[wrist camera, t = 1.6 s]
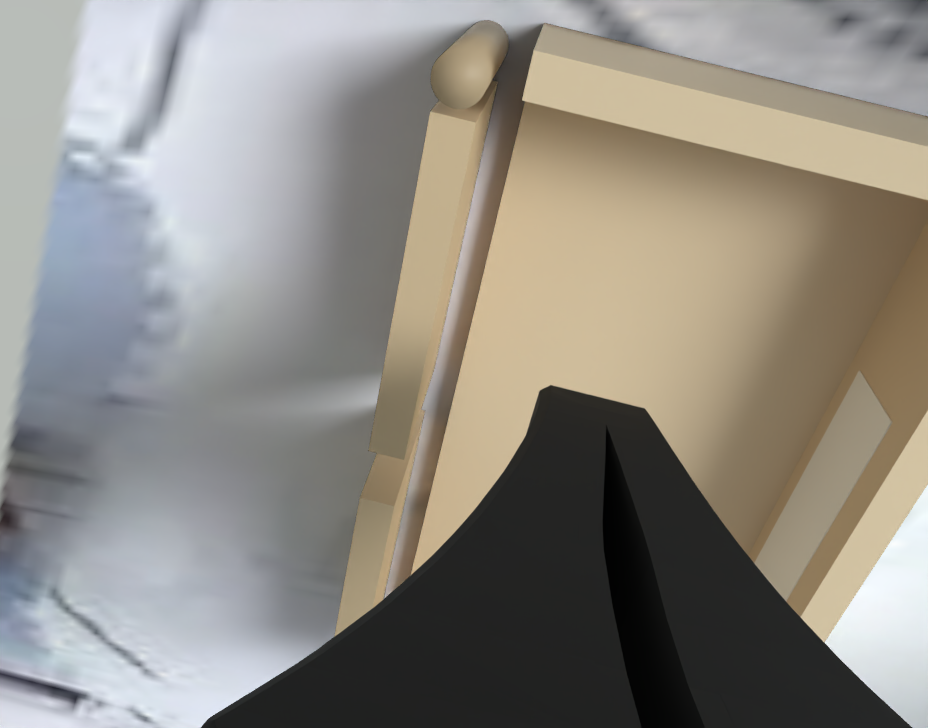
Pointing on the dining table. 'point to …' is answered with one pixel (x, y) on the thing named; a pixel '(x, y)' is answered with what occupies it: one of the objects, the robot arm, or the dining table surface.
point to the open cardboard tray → (712, 301)
